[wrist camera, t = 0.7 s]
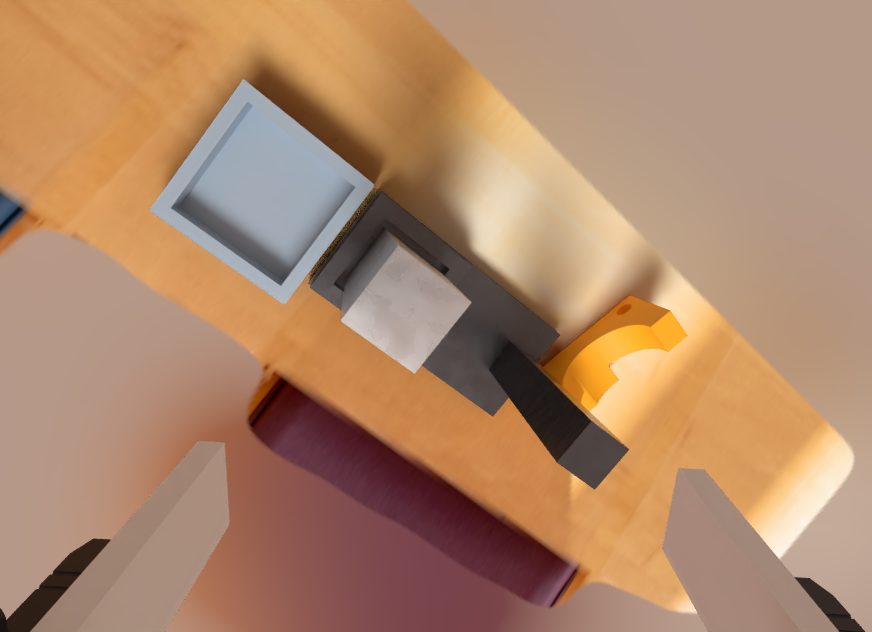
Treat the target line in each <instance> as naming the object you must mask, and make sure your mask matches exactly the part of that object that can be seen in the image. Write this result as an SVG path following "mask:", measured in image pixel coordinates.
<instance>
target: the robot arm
mask: <svg viewBox="0 0 872 632" xmlns="http://www.w3.org/2000/svg"><path fill="white" fill-rule="evenodd" d="M228 507H229V506H228V491H227V474H226V458H225V443H223V442H206V441H198V442H197V443H196V444H195V445H194V447H193V448H192V449H191V450H190V451H189V452H188V453H187V454H186V456H185V457H184V458H183V459H182V460H181V461H180V462H179V464H178V465H177V466H176V467H175V468H174V469H173V470H172V471H171V473H170V474H169V475H168V476H167V477H166V478H165V480H163V482H162V483H161V484H160V485H159V486H158V487H157V488H156V490H155V491H154V492H153V493H152V494H151V496H149V498H148V499H147V500H146V501H145V502H144V503H143V504H142V506H141V507H140V508H139V509H138V510H137V511H136V512H135V513H134V515H133V516H132V517H131V518H130V519H129V520H128V521H127V522H126V524H125V525H124V526H123V527H122V528H121V529H120V530H119V532H118V533H117V534H116V535H115V536H114V537H113V539H112V540H109V539H92V540H91V541H89V542H87V543H86V544H84V545H83V546H81V547H80V548H78V549H76V550H75V551H73V552H72V553H70V554H69V555H68V556H67V557H66V558H65V560H63V561H62V562H61V564H60V565H59V566H58V567H57V568H56V569H55V570H54V571H53V574H52V575H49V576H48V577H47V578H46V579H45V580H44V582H42V583H41V585H40V587H39V589H36V590H35V591H34V592H33V593H32V594H31V595H30V596H29V597H28V598H27V599H26V600H25V601H24V603H22V604H21V605H20V606H19V608H18V609H17V610H16V611H15V612H14V613H13V614H12V615H11V616H10V617H9V618H8V619H7V620H6V617H5V615H4V613H3V612H2V610H1V609H0V632H166V630H167V628H168V627H169V625H170V623H171V621H172V620H173V618H174V616H175V615H176V613H177V611H178V610H179V608H180V606H181V605H182V603H183V601H184V600H185V598H186V596H187V594H188V593H189V591H190V590H191V588H192V586H193V585H194V583H195V581H196V580H197V578H198V576H199V574H200V573H201V571H202V569H203V568H204V566H205V564H206V563H207V561H208V559H209V558H210V556H211V554H212V553H213V551H214V549H215V548H216V546H217V544H218V543H219V541H220V539H221V538H222V536H223V534H224V532H225V531H226V529H227V527H228V526H229V524H230V523H229V508H228ZM662 549H663V551H664V553H665V555H666V556H667V558H668V560H669V562H670V564H671V565H672V567H673V569H674V571H675V573H676V574H677V576H678V578H679V580H680V582H681V584H682V585H683V587H684V589H685V591H686V593H687V594H688V596H689V598H690V600H691V602H692V603H693V605H694V607H695V609H696V611H697V612H698V614H699V616H700V618H701V620H702V622H703V623H704V625H705V627H706V629H707V631H708V632H865V631H864V630H863V629H862V627H861V626H860V625H859V624H858V623H857V622H856V621H855V620H854V619H851V615H850V614H849V613H848V612H847V611H846V609H845V608H844V607H843V606H842V605H841V604H840V603H839V602H838V600H837V599H836V598H835V597H834V596H833V595H832V594H830V593H829V592H828V591H826V590H825V589H824V588H822V587H821V586H819V585H818V584H817V583H815V582H814V581H812V580H811V579H810V578H797V577H793V575H792V574H791V573H790V572H789V571H788V570H787V568H786V567H785V566H784V565H783V563H782V562H781V561H780V560H779V559H778V557H777V556H776V555H775V554H774V553H773V551H772V550H771V549H770V548H769V547H768V545H767V544H766V543H765V542H764V541H763V539H762V538H761V537H760V536H759V534H758V533H757V532H756V531H755V530H754V528H753V527H752V526H751V525H750V524H749V522H748V521H747V520H746V519H745V518H744V516H743V515H742V514H741V513H740V512H739V510H738V509H737V508H736V507H735V506H734V504H733V503H732V502H731V501H730V500H729V498H728V497H727V496H726V495H725V494H724V492H723V491H722V490H721V489H720V488H719V486H718V485H717V484H716V483H715V482H714V480H713V479H712V478H711V477H710V475H709V474H708V473H707V472H706V471H705V470H701V469H683V468H678V472H677V477H676V482H675V487H674V492H673V497H672V502H671V507H670V512H669V517H668V522H667V527H666V532H665V537H664V542H663V547H662Z"/></svg>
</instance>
